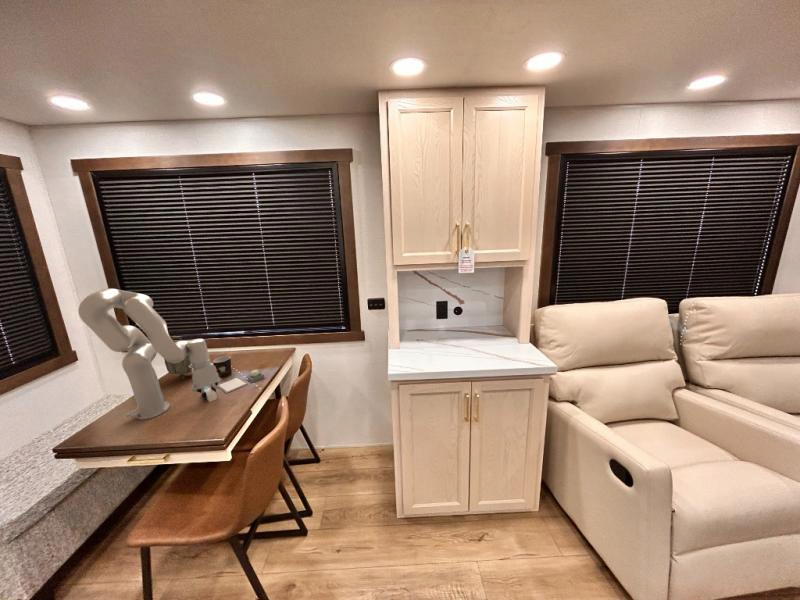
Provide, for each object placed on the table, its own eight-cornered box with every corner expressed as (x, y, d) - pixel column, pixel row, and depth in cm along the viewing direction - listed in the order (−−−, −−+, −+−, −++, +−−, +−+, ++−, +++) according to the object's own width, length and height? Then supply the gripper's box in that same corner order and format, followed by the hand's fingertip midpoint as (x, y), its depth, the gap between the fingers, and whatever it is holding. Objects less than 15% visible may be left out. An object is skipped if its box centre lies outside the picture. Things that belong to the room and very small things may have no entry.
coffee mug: (237, 371, 180) (233, 355, 177) (227, 378, 172) (224, 362, 169) (218, 371, 181) (215, 356, 179) (208, 378, 173) (204, 362, 170)
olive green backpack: (203, 373, 181) (193, 334, 174) (191, 381, 172) (180, 340, 166) (181, 373, 182) (170, 334, 176) (168, 381, 173) (156, 340, 167)
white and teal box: (209, 402, 149) (208, 395, 148) (201, 395, 156) (200, 389, 155) (217, 398, 151) (216, 392, 150) (209, 392, 158) (207, 386, 157)
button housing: (252, 382, 165) (252, 379, 164) (247, 379, 169) (246, 376, 168) (264, 377, 169) (263, 374, 169) (259, 374, 174) (258, 371, 173)
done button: (253, 378, 166) (252, 373, 165) (250, 376, 169) (249, 371, 168) (260, 375, 169) (259, 370, 168) (257, 373, 171) (256, 369, 171)
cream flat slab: (226, 393, 155) (226, 392, 155) (216, 386, 164) (216, 385, 164) (248, 384, 163) (247, 383, 163) (237, 377, 172) (237, 376, 172)
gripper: (184, 372, 140) (193, 407, 144) (222, 359, 152) (230, 391, 156) (179, 368, 145) (188, 402, 149) (216, 355, 157) (224, 387, 161)
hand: (209, 396), depth 153 cm, fingers closed on white and teal box, 3 cm apart
